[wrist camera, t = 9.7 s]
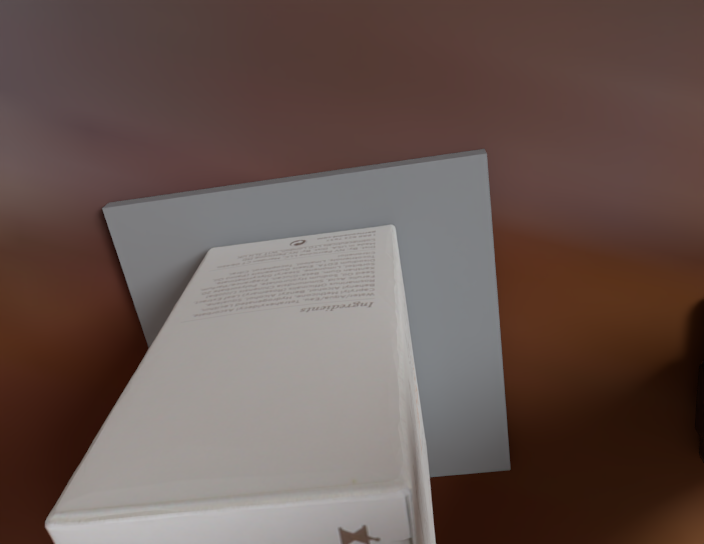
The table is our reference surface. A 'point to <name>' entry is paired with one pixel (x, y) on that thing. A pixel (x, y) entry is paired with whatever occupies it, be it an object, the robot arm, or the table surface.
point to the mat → (416, 264)
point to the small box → (267, 409)
